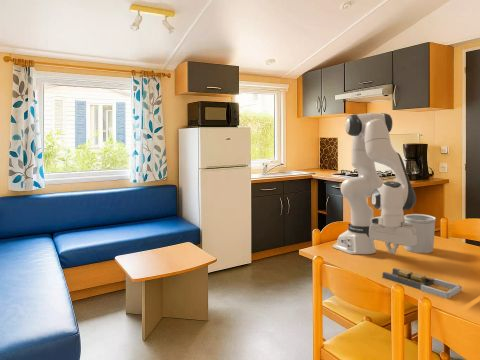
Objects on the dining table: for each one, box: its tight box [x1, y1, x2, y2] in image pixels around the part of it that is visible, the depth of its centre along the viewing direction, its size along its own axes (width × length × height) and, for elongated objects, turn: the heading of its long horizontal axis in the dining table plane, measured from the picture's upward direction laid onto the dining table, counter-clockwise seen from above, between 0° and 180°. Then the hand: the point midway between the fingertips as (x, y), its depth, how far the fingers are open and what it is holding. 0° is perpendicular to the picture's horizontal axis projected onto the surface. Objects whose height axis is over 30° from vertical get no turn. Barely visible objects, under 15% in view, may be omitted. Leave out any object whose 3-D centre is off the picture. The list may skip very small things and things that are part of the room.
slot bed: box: [381, 267, 435, 291], centre depth 158 cm, size 17×10×3 cm, turn 37°
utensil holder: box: [404, 213, 437, 254], centre depth 202 cm, size 15×15×18 cm
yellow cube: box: [411, 272, 427, 284], centre depth 155 cm, size 4×4×4 cm
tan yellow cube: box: [398, 269, 414, 280], centre depth 159 cm, size 4×4×4 cm
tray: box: [420, 278, 462, 300], centre depth 148 cm, size 10×11×3 cm
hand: (392, 253), depth 163 cm, fingers closed
